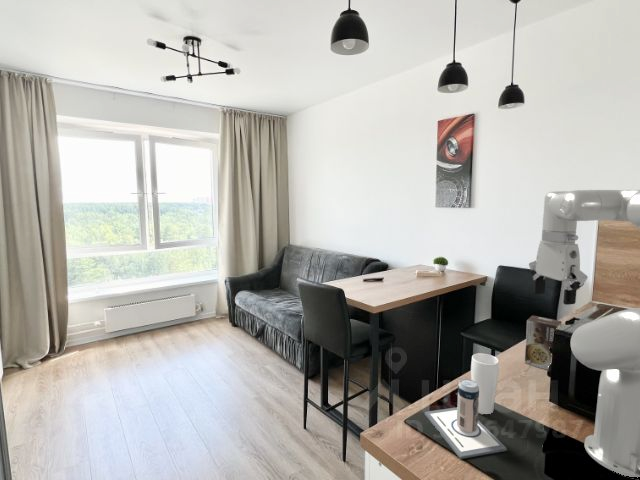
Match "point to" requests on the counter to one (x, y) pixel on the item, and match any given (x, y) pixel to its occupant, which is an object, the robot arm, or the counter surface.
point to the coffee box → (539, 341)
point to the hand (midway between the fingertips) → (553, 298)
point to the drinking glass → (485, 380)
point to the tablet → (464, 435)
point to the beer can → (467, 405)
